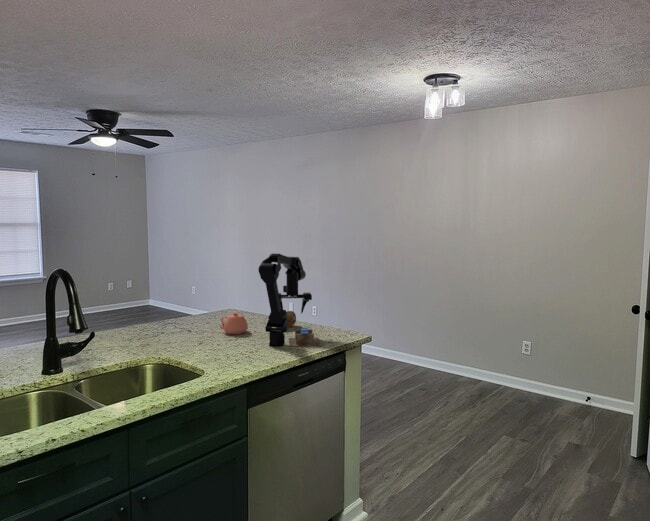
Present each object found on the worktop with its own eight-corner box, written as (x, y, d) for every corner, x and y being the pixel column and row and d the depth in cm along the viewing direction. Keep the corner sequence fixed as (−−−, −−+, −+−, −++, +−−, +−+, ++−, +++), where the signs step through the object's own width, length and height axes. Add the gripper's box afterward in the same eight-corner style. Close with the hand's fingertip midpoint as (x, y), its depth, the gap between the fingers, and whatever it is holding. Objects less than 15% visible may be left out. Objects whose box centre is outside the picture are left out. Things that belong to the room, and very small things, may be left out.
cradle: (289, 347, 208) (289, 336, 207) (288, 339, 222) (288, 328, 221) (320, 346, 210) (320, 335, 209) (317, 338, 223) (317, 328, 223)
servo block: (301, 344, 211) (301, 331, 210) (300, 339, 220) (300, 326, 219) (308, 343, 211) (308, 331, 211) (307, 338, 220) (307, 326, 220)
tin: (277, 330, 238) (277, 314, 238) (273, 329, 240) (273, 313, 240) (296, 325, 250) (296, 310, 250) (292, 324, 252) (292, 309, 252)
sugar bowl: (245, 336, 227) (245, 315, 226) (217, 335, 228) (216, 315, 227) (250, 330, 239) (249, 310, 239) (223, 329, 240) (222, 310, 239)
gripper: (310, 280, 235) (309, 310, 236) (273, 280, 232) (273, 310, 234) (311, 283, 224) (311, 314, 225) (273, 283, 221) (273, 315, 223)
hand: (292, 313), depth 227 cm, fingers open, 9 cm apart
